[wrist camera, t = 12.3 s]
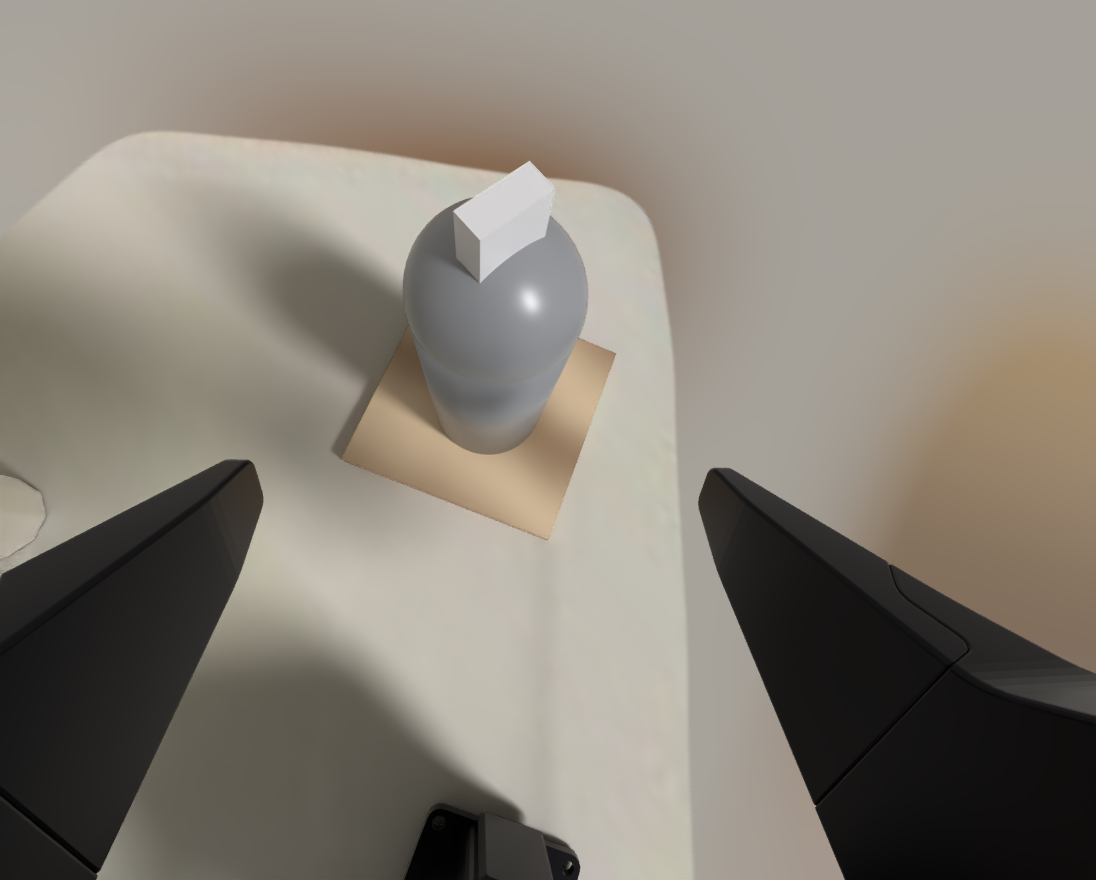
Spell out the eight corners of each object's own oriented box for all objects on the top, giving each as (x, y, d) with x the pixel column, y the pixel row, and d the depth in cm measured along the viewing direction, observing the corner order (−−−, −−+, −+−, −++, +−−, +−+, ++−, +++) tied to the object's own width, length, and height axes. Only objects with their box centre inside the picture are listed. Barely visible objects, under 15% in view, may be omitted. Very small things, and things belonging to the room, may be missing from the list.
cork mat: (546, 539, 22) (548, 539, 22) (344, 461, 22) (341, 458, 21) (612, 358, 25) (616, 353, 24) (434, 283, 24) (433, 277, 24)
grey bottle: (482, 476, 22) (493, 366, 9) (412, 397, 22) (317, 172, 9) (561, 409, 23) (675, 223, 10) (493, 335, 24) (516, 58, 10)
